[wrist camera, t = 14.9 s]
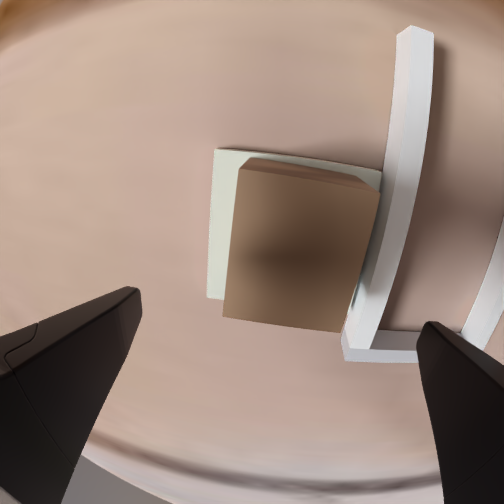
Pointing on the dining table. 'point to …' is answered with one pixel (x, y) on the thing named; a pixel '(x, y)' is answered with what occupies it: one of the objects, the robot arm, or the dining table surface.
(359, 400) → the dining table surface
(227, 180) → the coaster
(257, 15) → the dining table surface
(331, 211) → the block
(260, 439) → the dining table surface
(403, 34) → the channel
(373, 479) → the dining table surface
